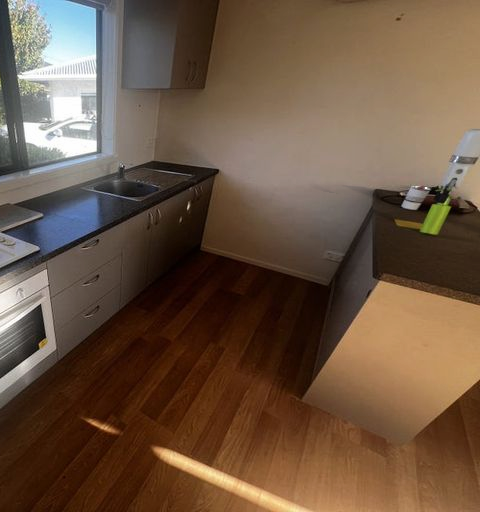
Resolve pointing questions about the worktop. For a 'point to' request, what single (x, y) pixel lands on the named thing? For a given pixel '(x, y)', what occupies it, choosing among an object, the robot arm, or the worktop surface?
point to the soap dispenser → (436, 217)
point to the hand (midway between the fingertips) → (438, 201)
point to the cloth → (408, 224)
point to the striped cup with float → (415, 197)
